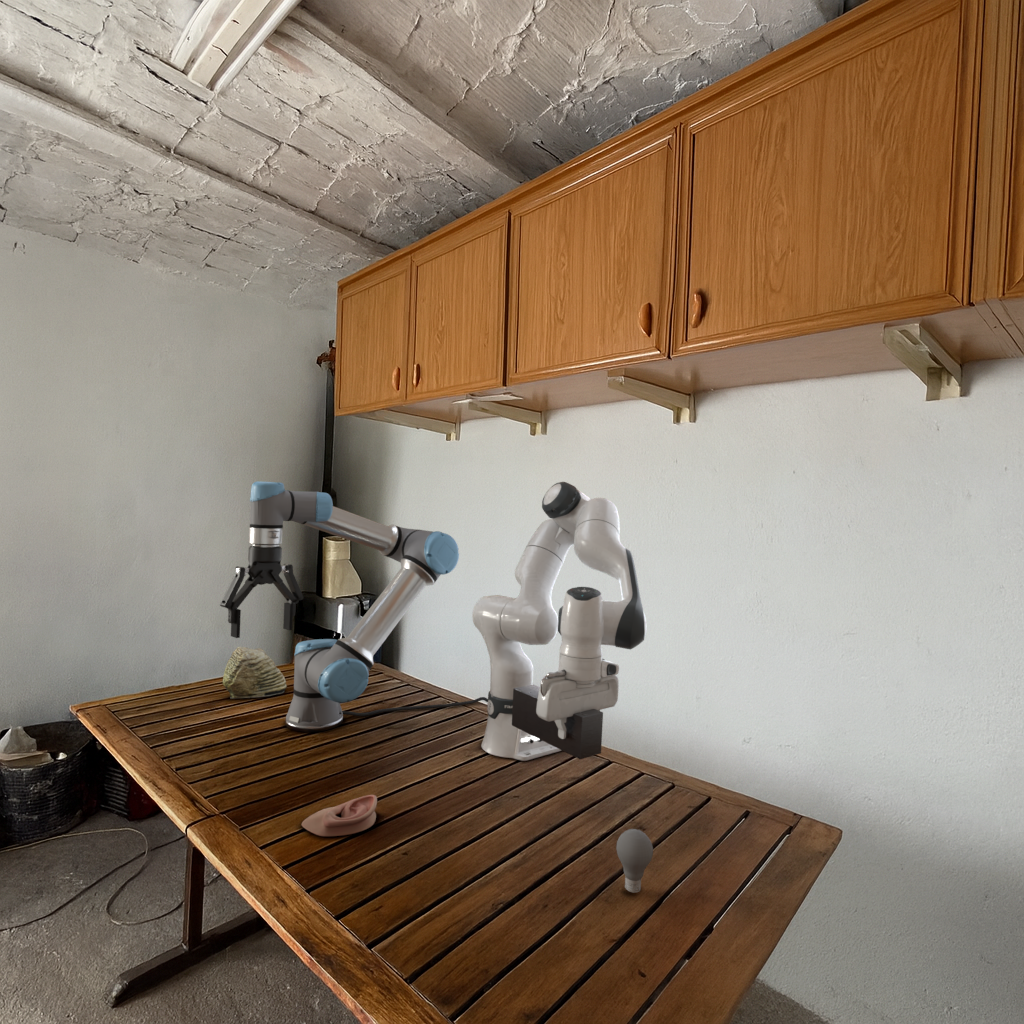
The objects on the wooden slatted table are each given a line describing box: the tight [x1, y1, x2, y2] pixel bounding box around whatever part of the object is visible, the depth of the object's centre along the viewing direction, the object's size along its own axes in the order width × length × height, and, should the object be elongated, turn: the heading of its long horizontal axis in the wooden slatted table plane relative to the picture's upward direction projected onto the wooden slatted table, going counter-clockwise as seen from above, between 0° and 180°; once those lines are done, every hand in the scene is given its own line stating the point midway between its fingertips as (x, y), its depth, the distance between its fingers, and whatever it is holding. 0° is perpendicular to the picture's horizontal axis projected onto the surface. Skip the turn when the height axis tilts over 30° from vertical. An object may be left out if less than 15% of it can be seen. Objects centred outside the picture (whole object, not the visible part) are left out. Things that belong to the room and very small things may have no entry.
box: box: [512, 684, 604, 760], centre depth 135 cm, size 22×6×8 cm, turn 38°
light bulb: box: [615, 828, 654, 894], centre depth 106 cm, size 6×6×10 cm
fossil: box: [222, 646, 288, 699], centre depth 198 cm, size 9×18×15 cm, turn 132°
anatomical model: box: [301, 794, 378, 837], centre depth 123 cm, size 13×4×12 cm
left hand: (262, 633), depth 153 cm, fingers open, 13 cm apart
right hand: (576, 734), depth 130 cm, fingers closed on box, 6 cm apart
